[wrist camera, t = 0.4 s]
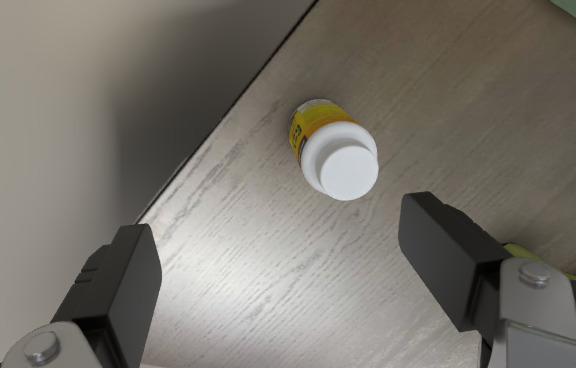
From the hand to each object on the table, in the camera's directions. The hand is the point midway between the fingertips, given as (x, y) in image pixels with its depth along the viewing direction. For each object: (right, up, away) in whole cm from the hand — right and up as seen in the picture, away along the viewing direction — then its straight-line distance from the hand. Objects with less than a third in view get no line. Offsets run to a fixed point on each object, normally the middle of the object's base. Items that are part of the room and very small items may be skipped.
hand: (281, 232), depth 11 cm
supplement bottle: (+3, +7, +21) cm, 22 cm away
